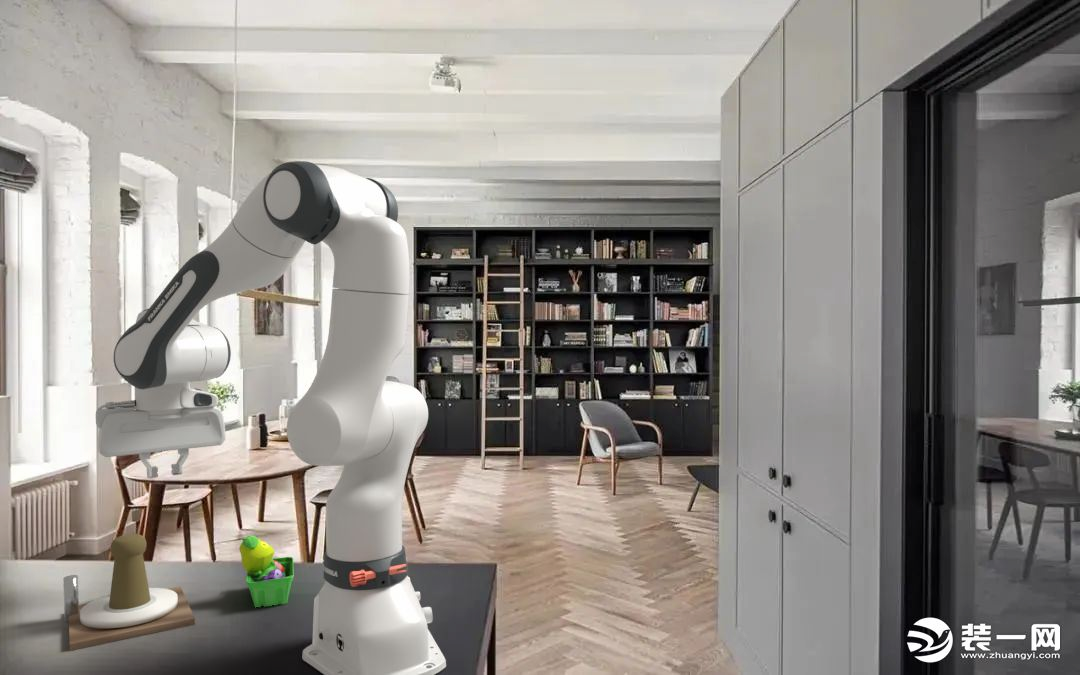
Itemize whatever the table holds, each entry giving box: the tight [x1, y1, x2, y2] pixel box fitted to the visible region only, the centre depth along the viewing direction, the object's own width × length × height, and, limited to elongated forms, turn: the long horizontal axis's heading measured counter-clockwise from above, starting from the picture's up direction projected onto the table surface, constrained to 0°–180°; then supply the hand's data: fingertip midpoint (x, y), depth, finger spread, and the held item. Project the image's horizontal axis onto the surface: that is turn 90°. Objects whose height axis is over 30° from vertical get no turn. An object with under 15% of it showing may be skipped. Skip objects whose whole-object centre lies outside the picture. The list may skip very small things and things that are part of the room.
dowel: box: [62, 574, 80, 623], centre depth 122 cm, size 2×2×7 cm
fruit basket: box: [239, 535, 295, 609], centre depth 131 cm, size 11×9×11 cm
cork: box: [109, 533, 151, 610], centre depth 122 cm, size 6×6×11 cm
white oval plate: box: [80, 587, 178, 628], centre depth 124 cm, size 18×14×4 cm
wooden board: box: [68, 585, 196, 652], centre depth 123 cm, size 17×17×1 cm
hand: (164, 475), depth 133 cm, fingers open, 3 cm apart
